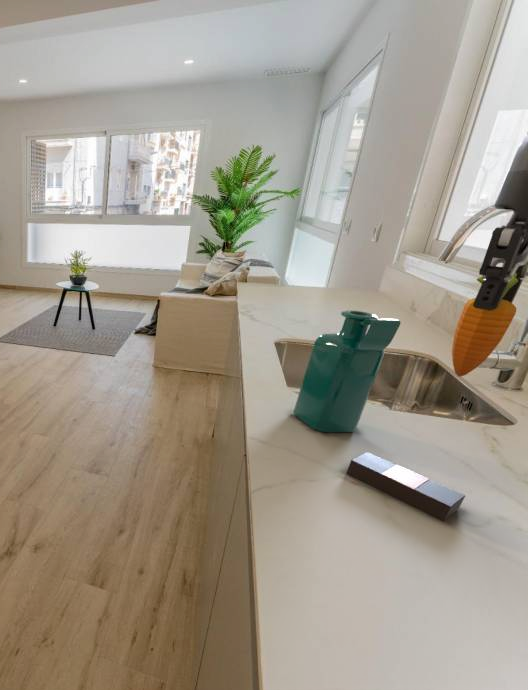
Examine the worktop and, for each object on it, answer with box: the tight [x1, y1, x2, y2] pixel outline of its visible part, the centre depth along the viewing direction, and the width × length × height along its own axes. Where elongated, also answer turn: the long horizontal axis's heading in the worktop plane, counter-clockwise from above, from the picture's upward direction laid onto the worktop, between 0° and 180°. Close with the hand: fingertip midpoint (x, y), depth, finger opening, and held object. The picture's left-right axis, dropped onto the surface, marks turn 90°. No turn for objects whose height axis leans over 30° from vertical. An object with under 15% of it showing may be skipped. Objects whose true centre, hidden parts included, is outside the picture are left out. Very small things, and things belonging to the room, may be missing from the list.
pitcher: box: [293, 309, 401, 433], centre depth 77 cm, size 10×8×22 cm
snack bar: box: [346, 451, 466, 522], centre depth 63 cm, size 5×12×3 cm, turn 29°
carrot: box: [451, 273, 518, 378], centre depth 58 cm, size 5×5×15 cm
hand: (491, 306), depth 57 cm, fingers closed on carrot, 5 cm apart
